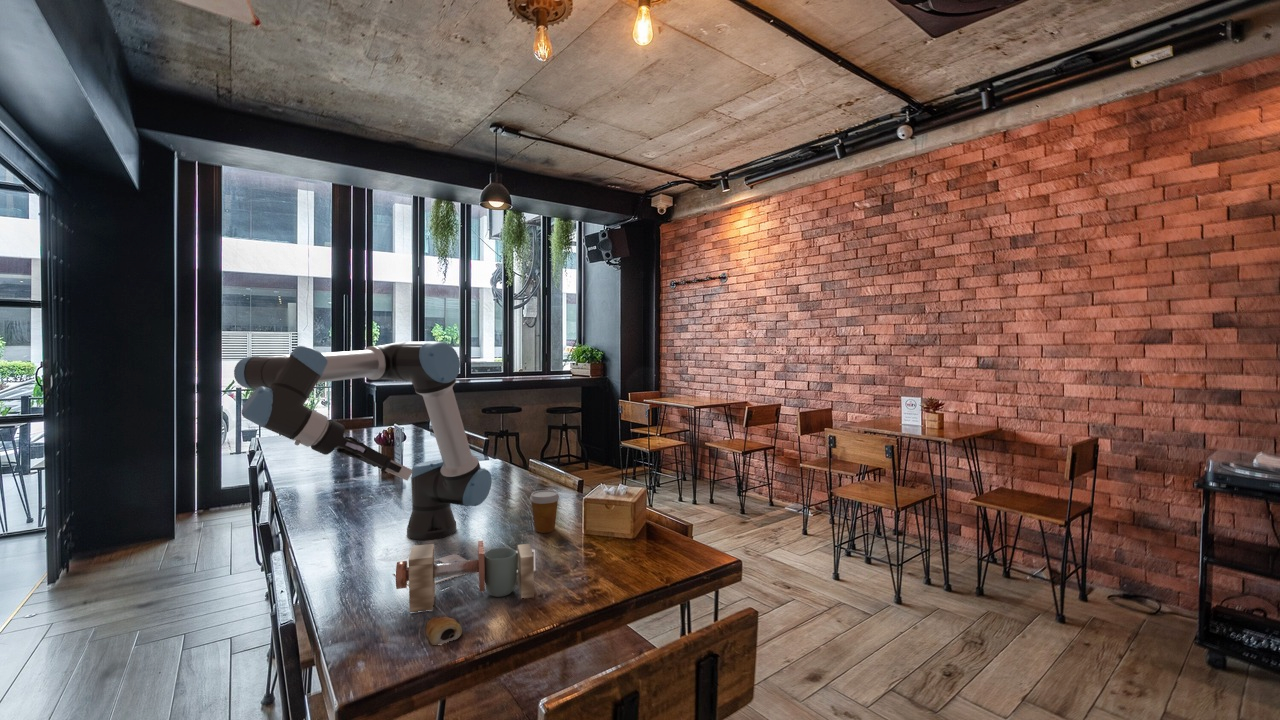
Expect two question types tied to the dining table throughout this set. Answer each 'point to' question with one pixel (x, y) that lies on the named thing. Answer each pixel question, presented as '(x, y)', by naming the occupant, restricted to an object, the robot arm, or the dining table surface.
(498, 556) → the cup
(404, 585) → the shaft
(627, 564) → the dining table surface
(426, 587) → the bearing block
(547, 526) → the disposable coffee cup
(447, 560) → the photo frame
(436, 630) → the pastry
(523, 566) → the end block
